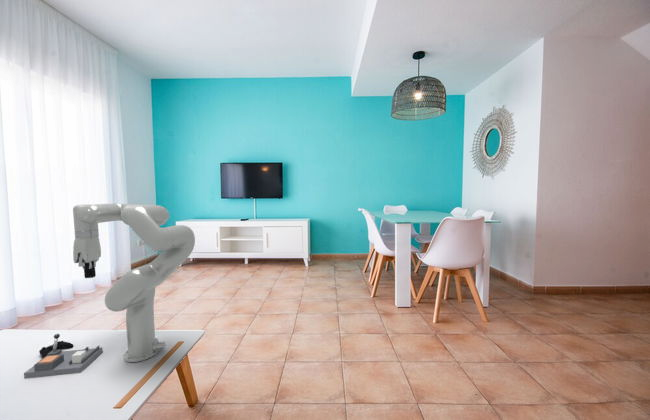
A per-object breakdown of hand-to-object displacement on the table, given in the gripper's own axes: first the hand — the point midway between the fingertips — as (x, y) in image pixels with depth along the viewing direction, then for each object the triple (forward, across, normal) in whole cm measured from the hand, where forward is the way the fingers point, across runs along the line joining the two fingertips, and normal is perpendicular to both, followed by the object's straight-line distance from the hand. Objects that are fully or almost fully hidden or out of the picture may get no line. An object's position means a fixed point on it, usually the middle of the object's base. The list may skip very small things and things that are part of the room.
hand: (90, 277), depth 116 cm
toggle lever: (+27, +6, -11) cm, 30 cm away
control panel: (+31, +10, -4) cm, 33 cm away
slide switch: (+29, +13, +2) cm, 32 cm away
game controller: (+32, 0, -15) cm, 35 cm away
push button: (+28, +14, -7) cm, 32 cm away
